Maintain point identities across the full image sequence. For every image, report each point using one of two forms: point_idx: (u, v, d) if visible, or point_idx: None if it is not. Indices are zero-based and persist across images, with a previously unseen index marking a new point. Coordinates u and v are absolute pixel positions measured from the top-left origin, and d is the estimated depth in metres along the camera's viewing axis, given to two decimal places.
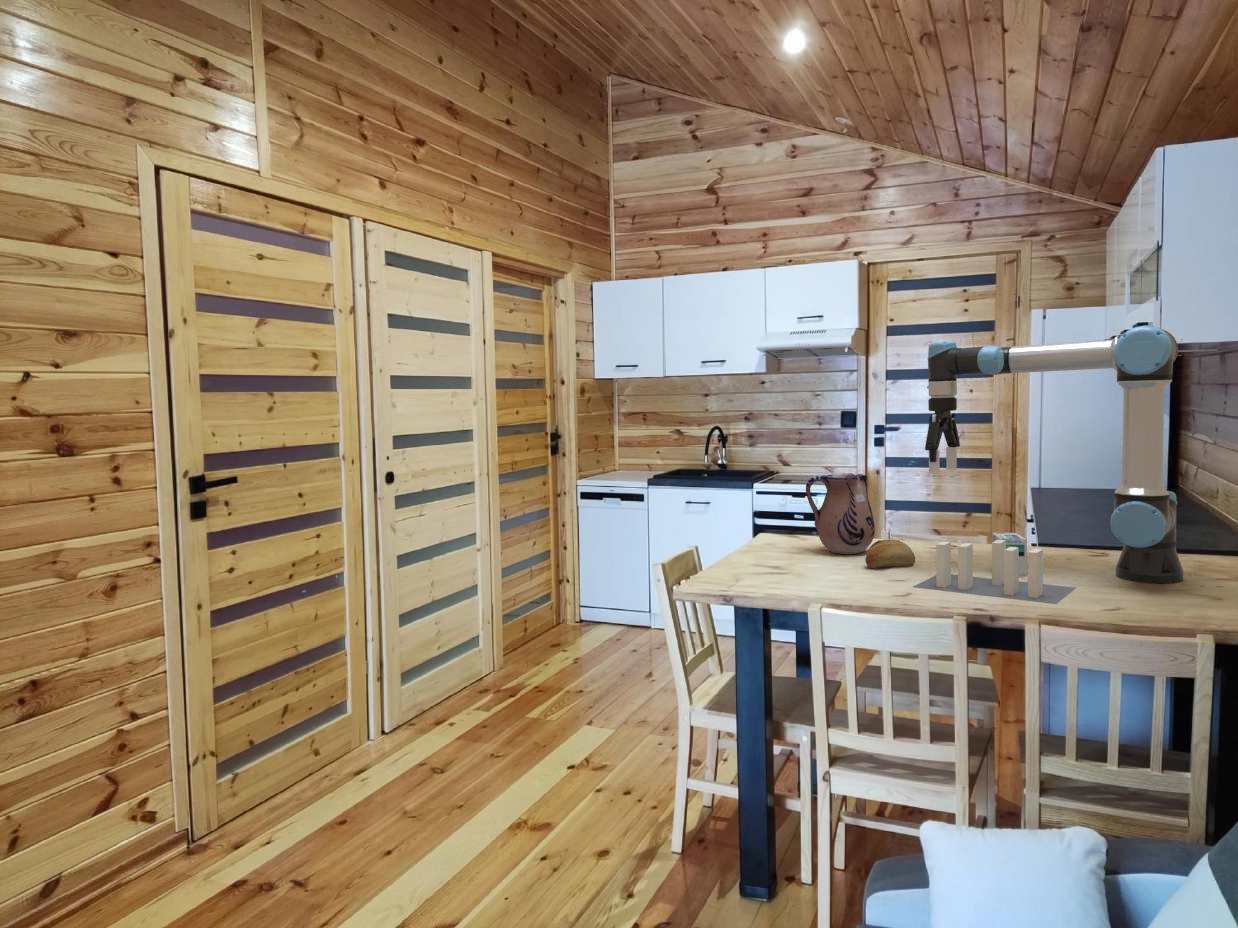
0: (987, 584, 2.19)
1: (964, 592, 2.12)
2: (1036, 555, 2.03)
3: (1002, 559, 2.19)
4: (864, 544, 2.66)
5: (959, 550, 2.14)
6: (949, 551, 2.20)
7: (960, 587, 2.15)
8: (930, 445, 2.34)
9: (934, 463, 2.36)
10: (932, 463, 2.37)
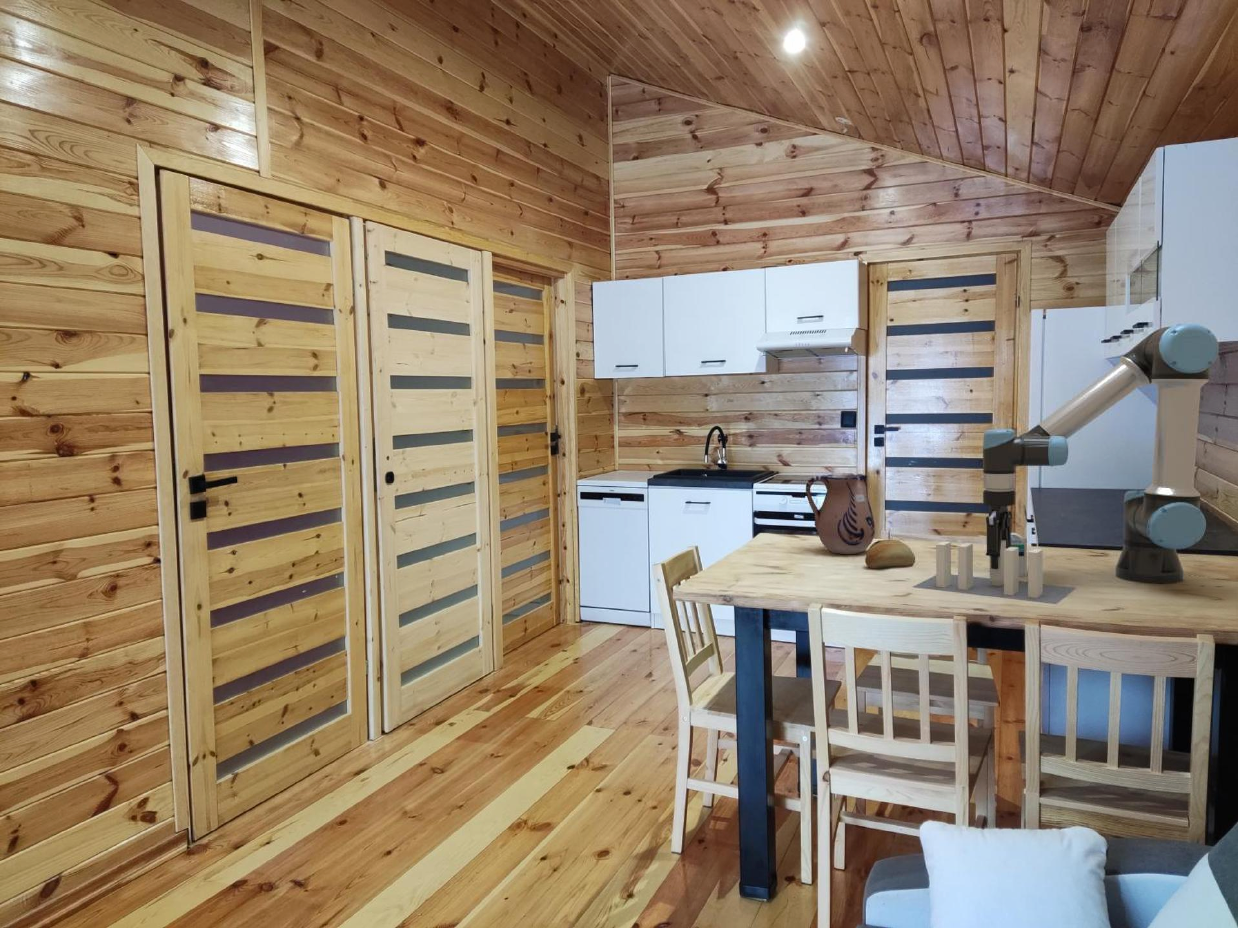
0: (987, 584, 2.19)
1: (964, 592, 2.12)
2: (1036, 555, 2.03)
3: (1002, 559, 2.19)
4: (864, 544, 2.66)
5: (959, 550, 2.14)
6: (949, 551, 2.20)
7: (960, 587, 2.15)
8: (992, 551, 2.15)
9: (996, 570, 2.17)
10: (993, 569, 2.17)
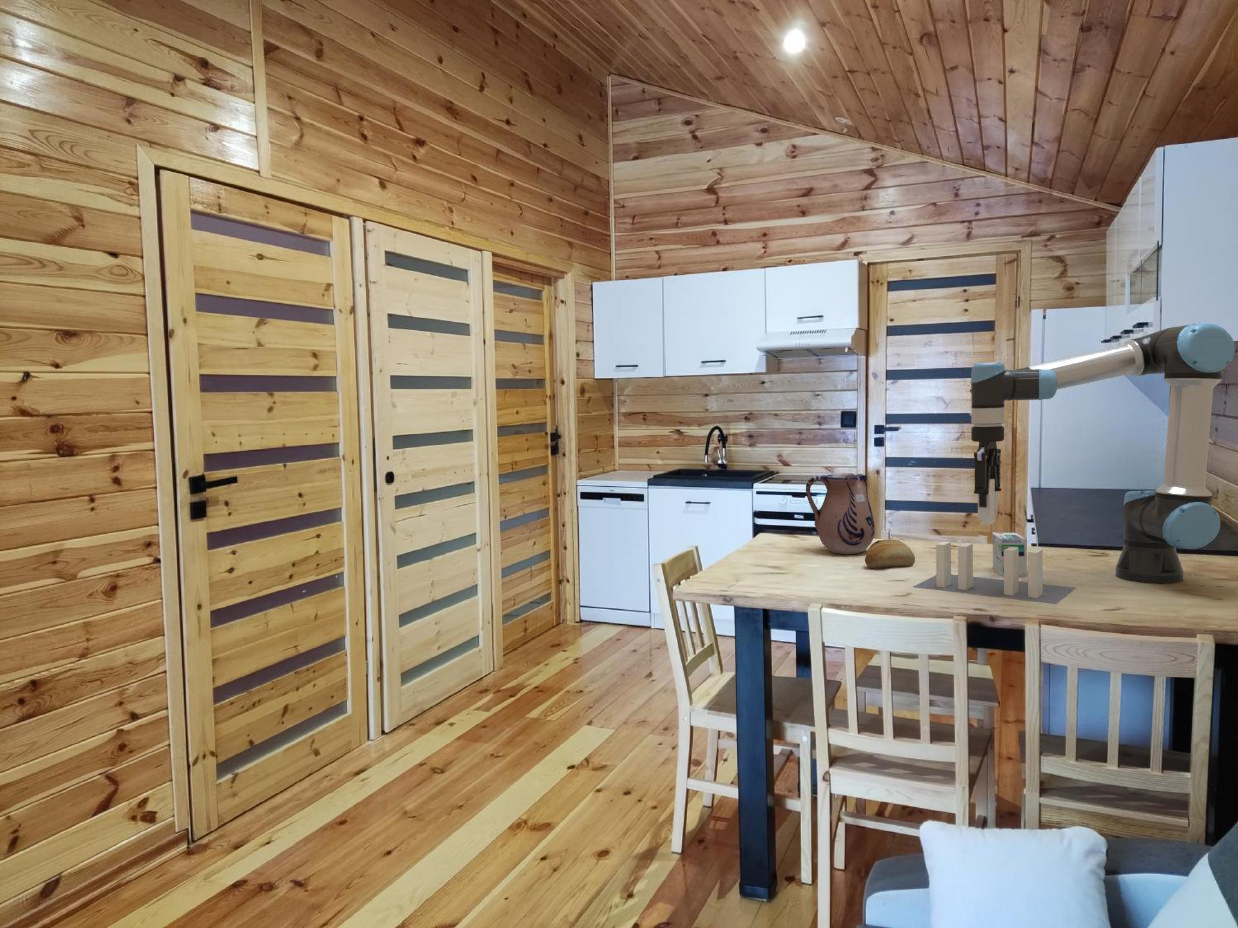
0: (987, 584, 2.19)
1: (964, 592, 2.12)
2: (1036, 555, 2.03)
3: (991, 498, 2.11)
4: (864, 544, 2.66)
5: (959, 550, 2.14)
6: (949, 551, 2.20)
7: (960, 587, 2.15)
8: (980, 488, 2.06)
9: (984, 508, 2.09)
10: (982, 508, 2.09)
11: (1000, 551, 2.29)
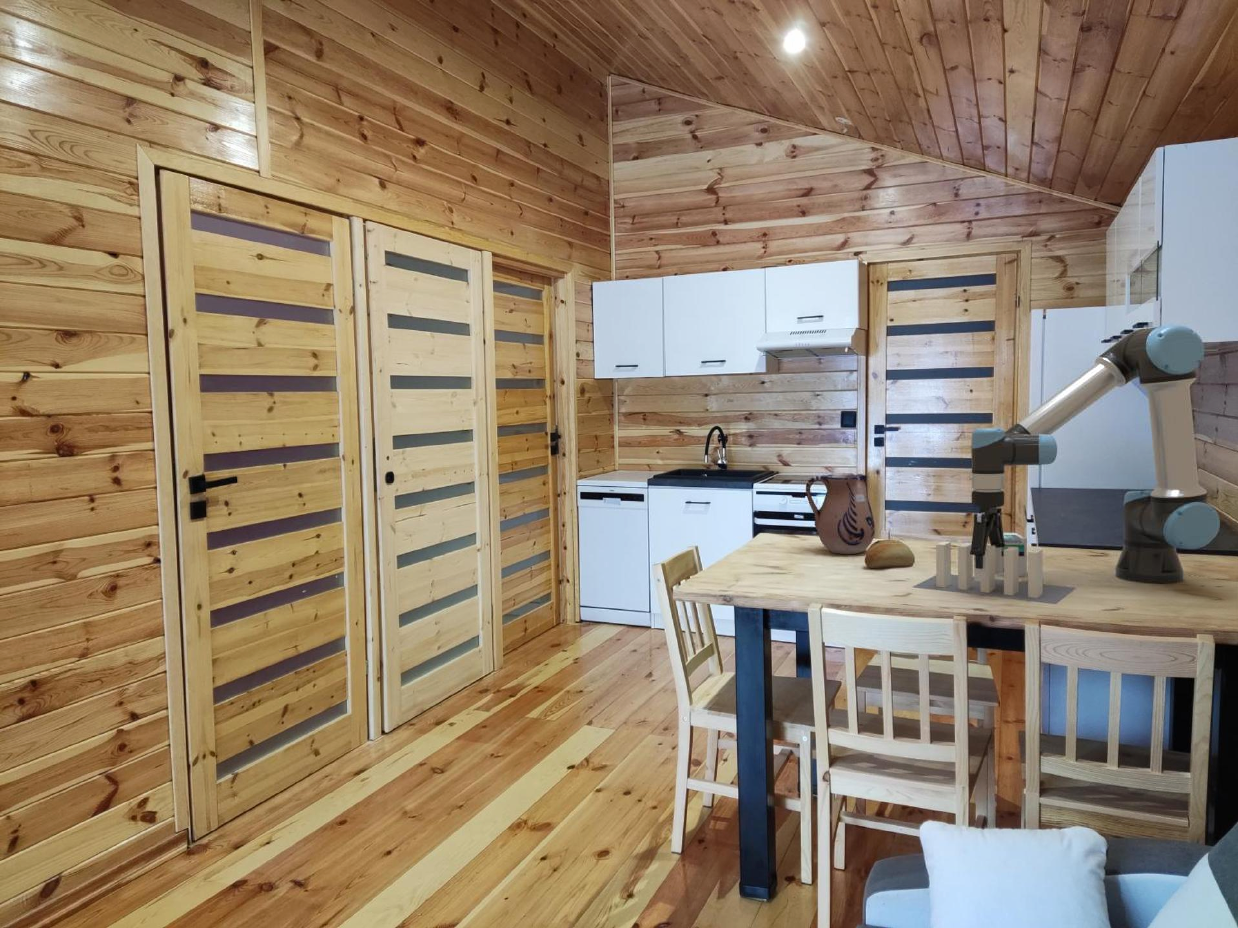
0: None
1: (964, 592, 2.12)
2: (1036, 555, 2.03)
3: (991, 565, 2.12)
4: (864, 544, 2.66)
5: (959, 550, 2.14)
6: (949, 551, 2.20)
7: (960, 587, 2.15)
8: (976, 550, 2.05)
9: (980, 569, 2.08)
10: (978, 569, 2.08)
11: None
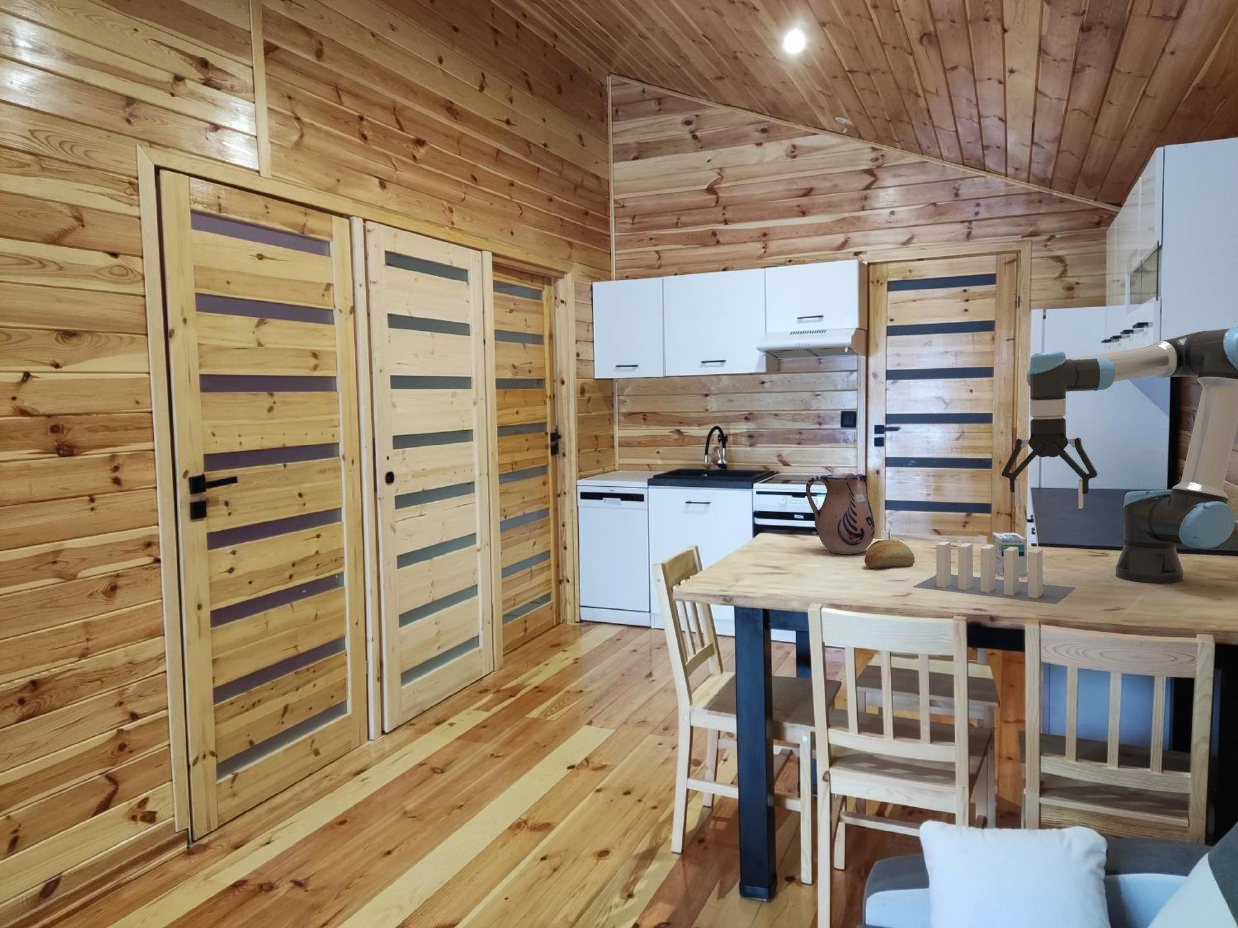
0: None
1: (964, 592, 2.12)
2: (1036, 555, 2.03)
3: (991, 565, 2.12)
4: (864, 544, 2.66)
5: (959, 550, 2.14)
6: (949, 551, 2.20)
7: (960, 587, 2.15)
8: None
9: None
10: None
11: (1000, 551, 2.29)
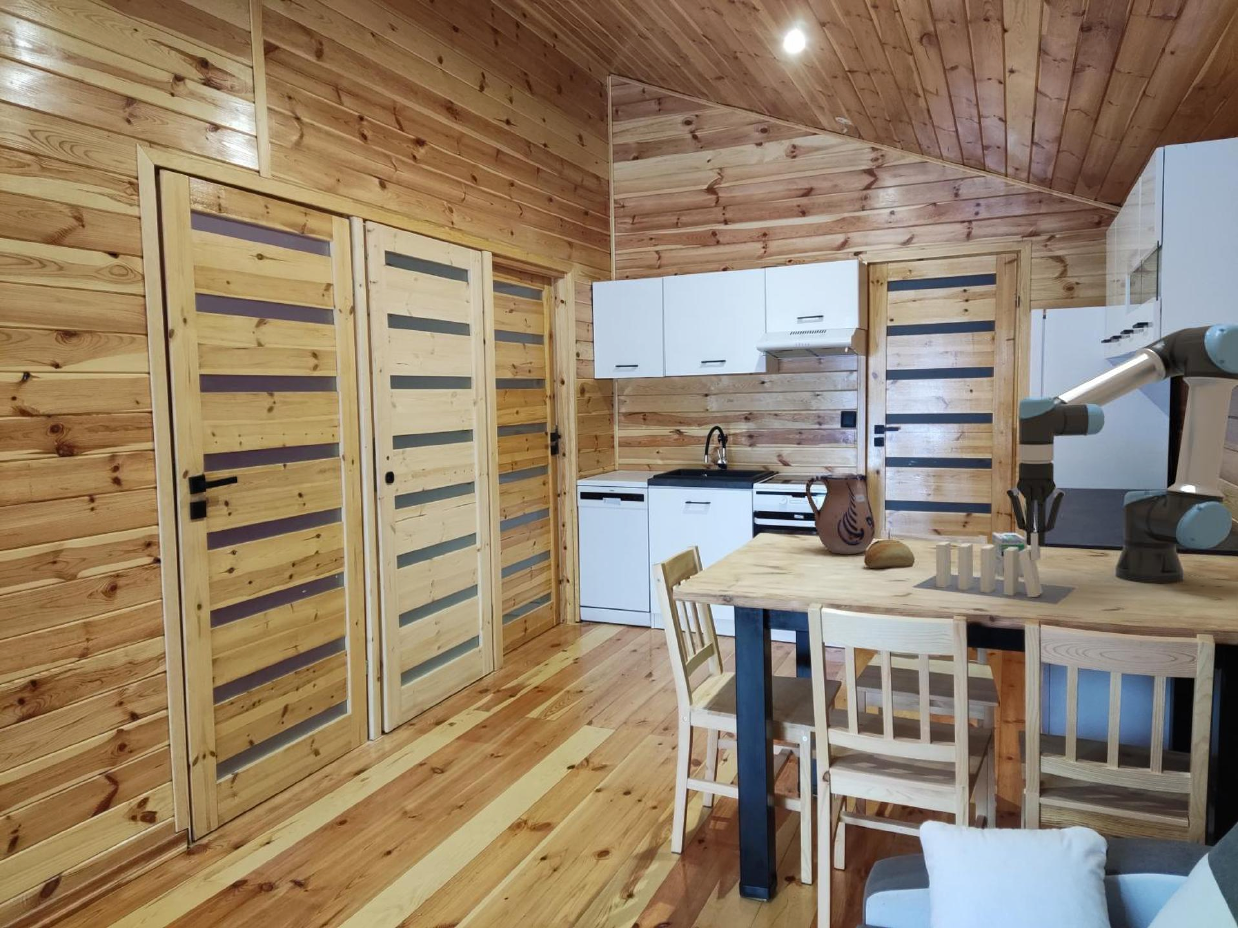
0: None
1: (964, 592, 2.12)
2: (1027, 554, 2.04)
3: (991, 565, 2.12)
4: (864, 544, 2.66)
5: (959, 550, 2.14)
6: (949, 551, 2.20)
7: (960, 587, 2.15)
8: None
9: None
10: None
11: (1000, 551, 2.29)
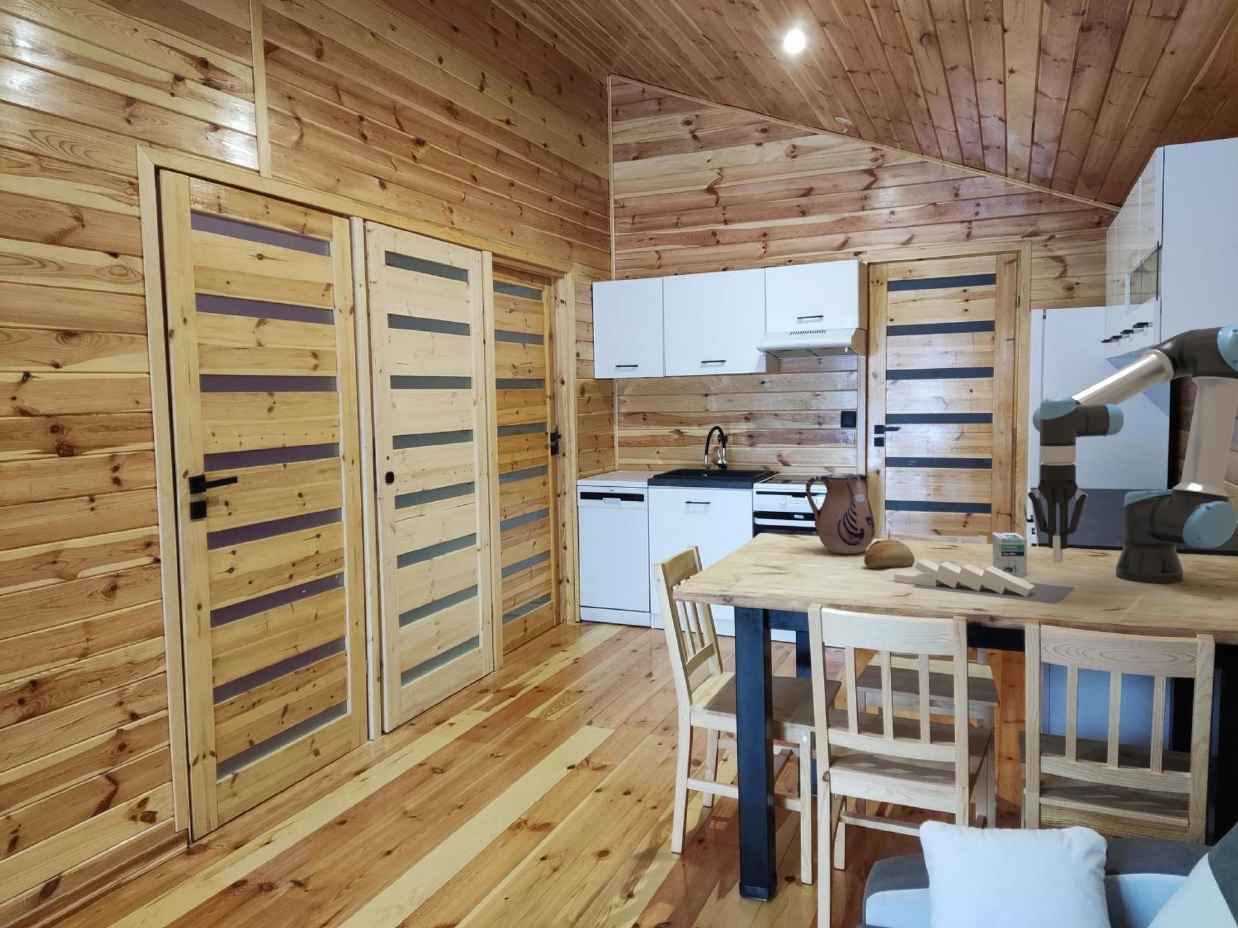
0: None
1: (964, 592, 2.12)
2: (987, 570, 2.10)
3: (959, 570, 2.17)
4: (864, 544, 2.66)
5: (918, 568, 2.22)
6: (908, 572, 2.28)
7: (953, 585, 2.16)
8: None
9: None
10: None
11: (1000, 551, 2.29)
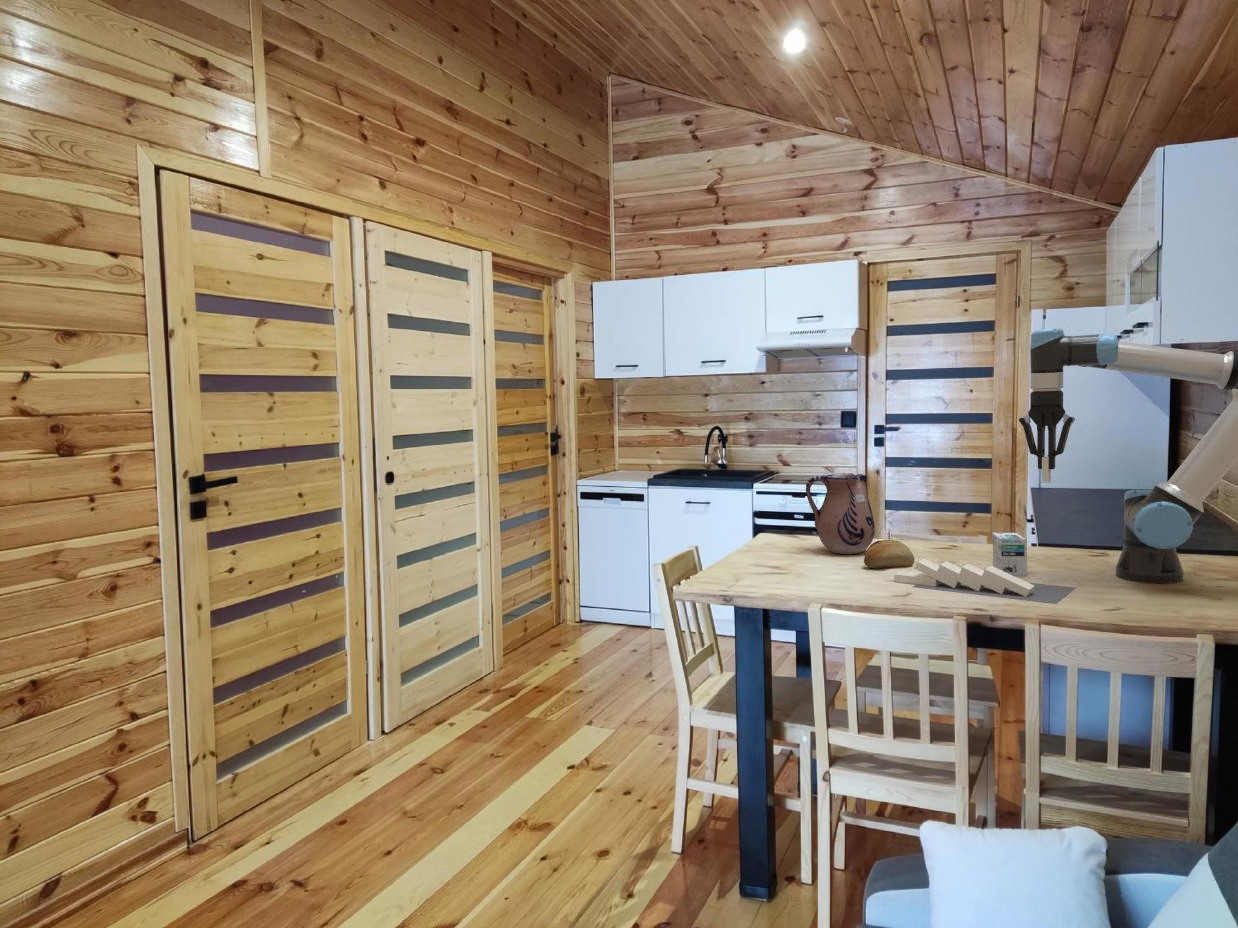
0: None
1: (964, 592, 2.12)
2: (987, 570, 2.10)
3: (959, 570, 2.17)
4: (864, 544, 2.66)
5: (918, 569, 2.22)
6: (908, 572, 2.28)
7: (953, 585, 2.16)
8: None
9: None
10: None
11: (1000, 551, 2.29)
